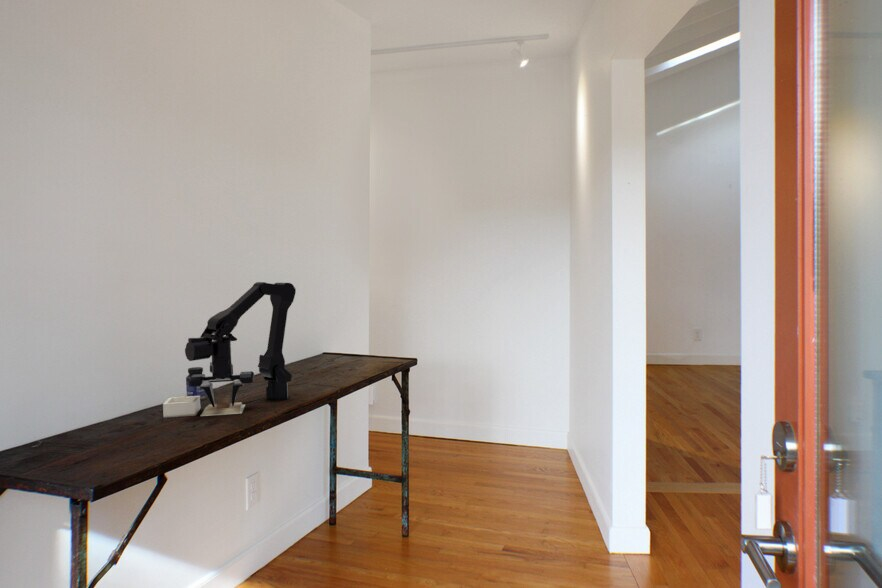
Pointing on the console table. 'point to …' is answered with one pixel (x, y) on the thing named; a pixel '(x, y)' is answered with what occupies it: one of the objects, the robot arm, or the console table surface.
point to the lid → (223, 406)
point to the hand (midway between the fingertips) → (223, 406)
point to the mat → (227, 413)
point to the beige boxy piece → (181, 406)
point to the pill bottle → (195, 389)
